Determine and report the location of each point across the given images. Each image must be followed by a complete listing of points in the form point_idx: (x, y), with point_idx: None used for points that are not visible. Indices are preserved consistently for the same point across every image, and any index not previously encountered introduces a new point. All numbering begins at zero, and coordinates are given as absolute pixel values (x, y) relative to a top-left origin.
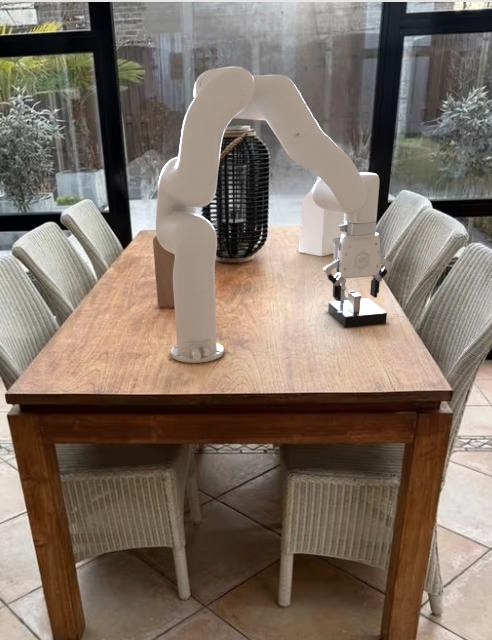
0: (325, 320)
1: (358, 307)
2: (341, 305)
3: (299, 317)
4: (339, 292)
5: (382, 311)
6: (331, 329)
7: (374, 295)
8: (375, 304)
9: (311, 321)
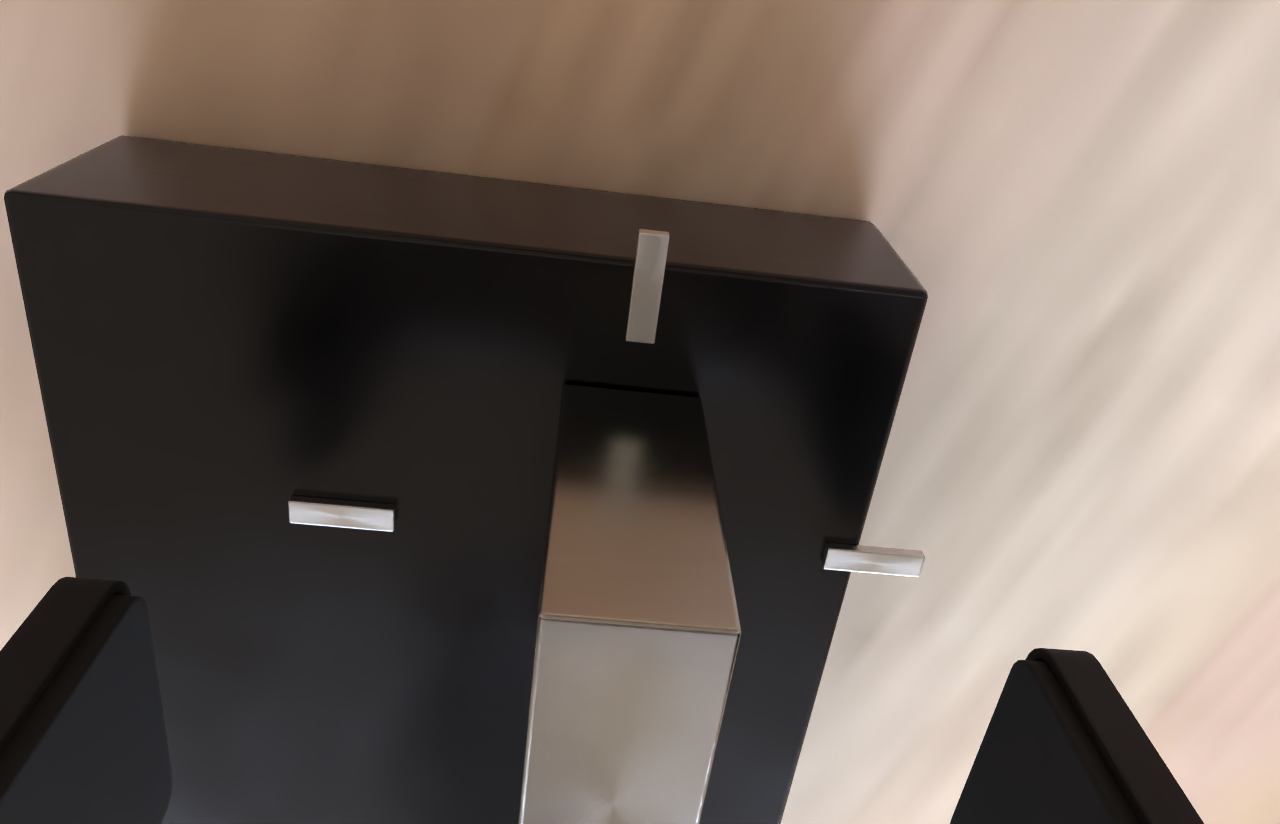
0: (920, 621)
1: (601, 443)
2: None
3: None
4: (1176, 820)
5: (79, 312)
6: (1096, 244)
7: (118, 617)
8: None
9: (1106, 646)
